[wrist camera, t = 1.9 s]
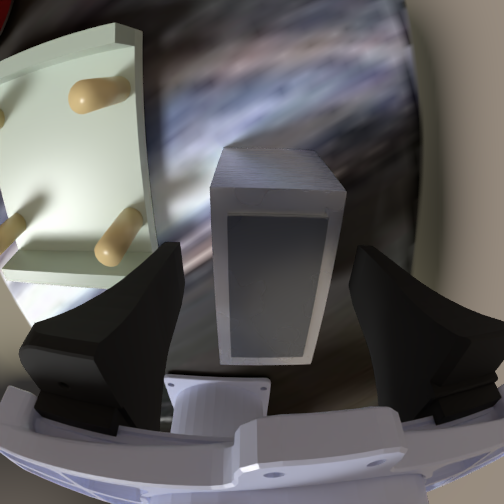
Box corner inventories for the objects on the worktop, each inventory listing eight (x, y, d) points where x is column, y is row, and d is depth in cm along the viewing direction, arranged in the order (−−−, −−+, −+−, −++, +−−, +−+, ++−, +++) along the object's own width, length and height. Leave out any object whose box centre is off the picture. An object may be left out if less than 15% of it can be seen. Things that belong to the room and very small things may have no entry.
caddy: (159, 254, 16) (138, 305, 13) (30, 252, 16) (-3, 291, 12) (142, 31, 10) (102, 18, 7) (-4, 75, 10) (-55, 87, 6)
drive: (297, 291, 17) (311, 367, 13) (226, 290, 17) (219, 367, 13) (313, 149, 13) (348, 194, 9) (223, 147, 13) (208, 189, 9)
